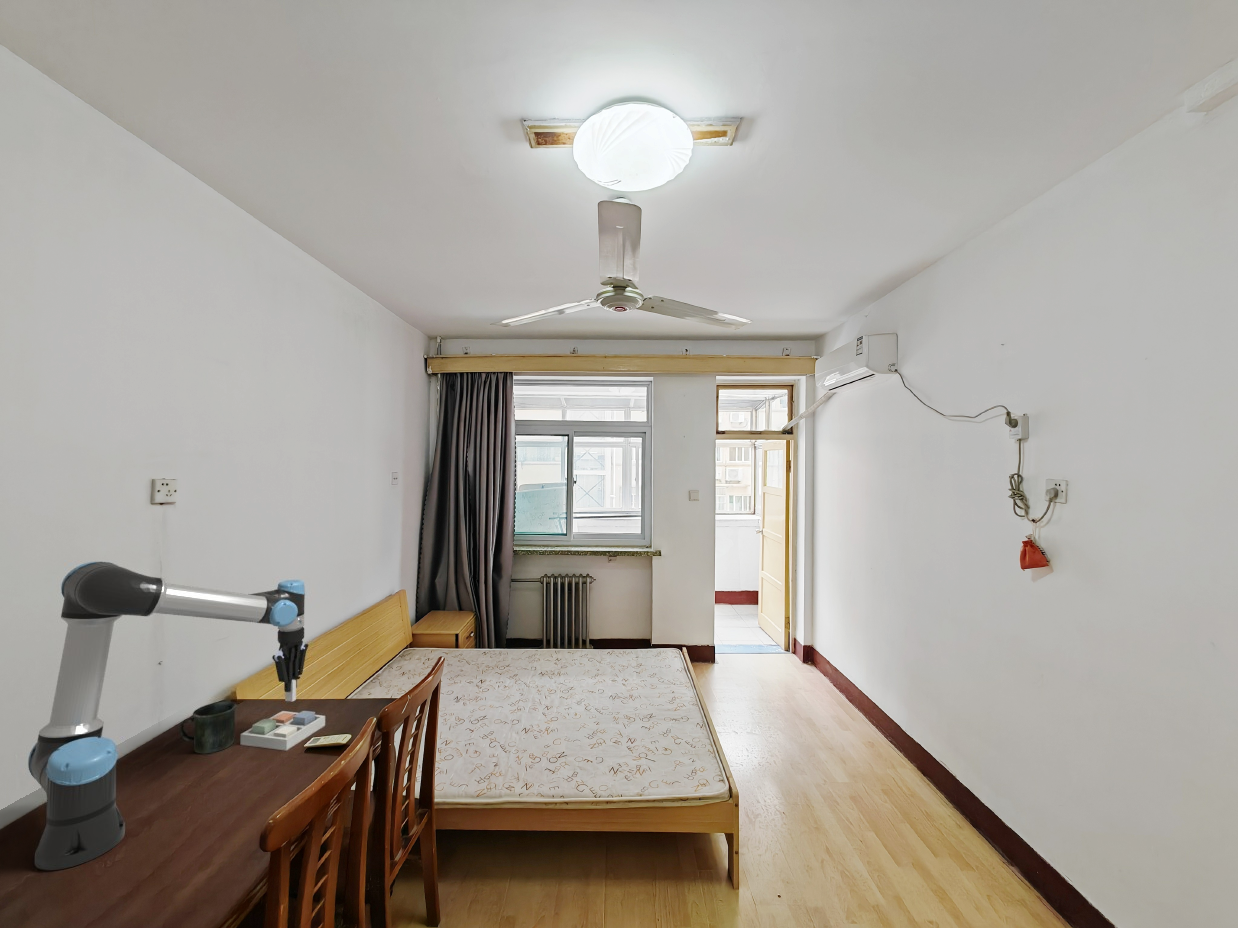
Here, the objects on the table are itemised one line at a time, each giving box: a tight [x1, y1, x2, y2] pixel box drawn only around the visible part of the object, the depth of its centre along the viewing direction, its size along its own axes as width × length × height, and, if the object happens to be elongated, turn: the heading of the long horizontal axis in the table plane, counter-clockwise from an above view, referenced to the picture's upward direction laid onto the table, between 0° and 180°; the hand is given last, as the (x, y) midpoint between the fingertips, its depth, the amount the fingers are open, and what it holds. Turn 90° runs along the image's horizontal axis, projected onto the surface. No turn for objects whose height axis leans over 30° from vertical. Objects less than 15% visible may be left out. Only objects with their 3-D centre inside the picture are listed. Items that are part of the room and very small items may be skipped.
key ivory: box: [274, 726, 297, 738], centre depth 179 cm, size 5×5×3 cm
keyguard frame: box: [240, 710, 326, 752], centre depth 183 cm, size 17×17×3 cm
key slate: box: [293, 710, 316, 725], centre depth 187 cm, size 5×5×3 cm
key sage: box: [251, 718, 276, 734], centre depth 180 cm, size 5×5×3 cm
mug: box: [179, 701, 237, 755], centre depth 175 cm, size 11×15×12 cm
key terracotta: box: [272, 713, 295, 724], centre depth 188 cm, size 5×5×3 cm
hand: (290, 700), depth 181 cm, fingers closed
